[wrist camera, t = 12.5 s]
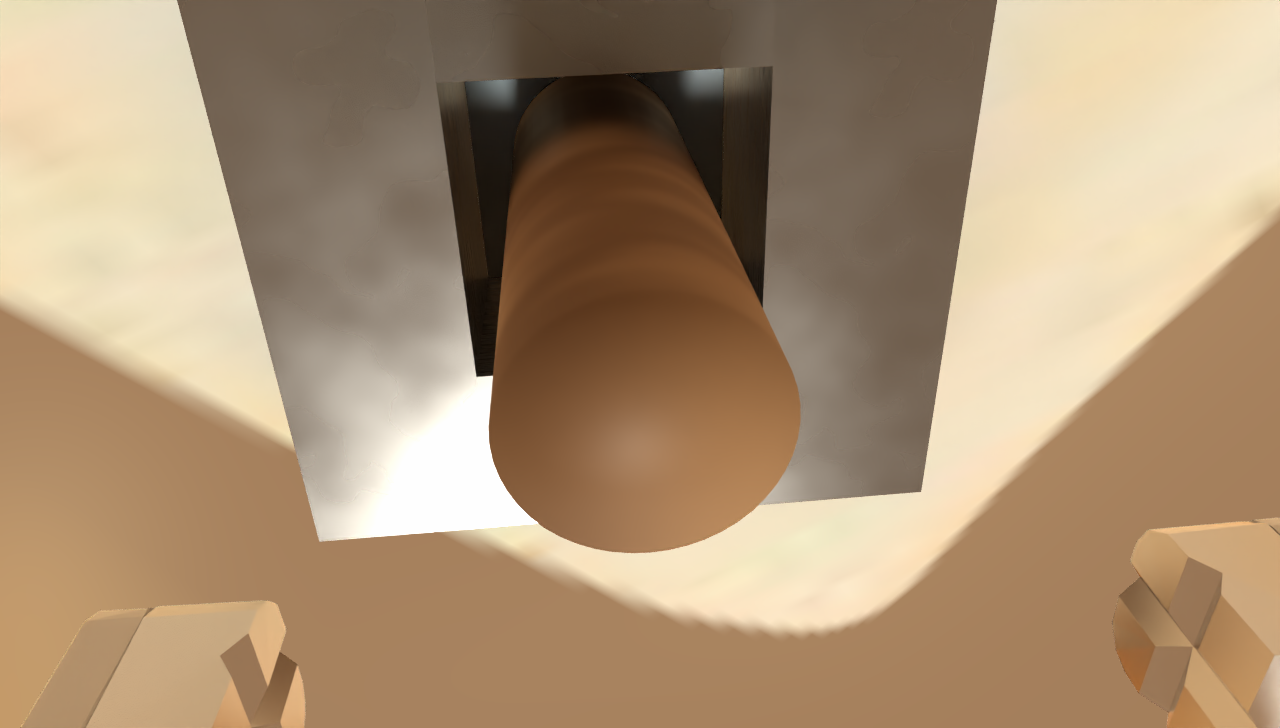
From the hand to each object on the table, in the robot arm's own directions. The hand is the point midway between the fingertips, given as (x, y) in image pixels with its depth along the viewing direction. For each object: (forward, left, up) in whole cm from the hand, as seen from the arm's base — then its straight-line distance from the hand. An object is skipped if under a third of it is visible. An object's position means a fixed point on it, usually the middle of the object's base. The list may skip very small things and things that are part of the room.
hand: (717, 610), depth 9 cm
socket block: (0, 0, -15) cm, 15 cm away
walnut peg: (0, 0, -15) cm, 15 cm away
